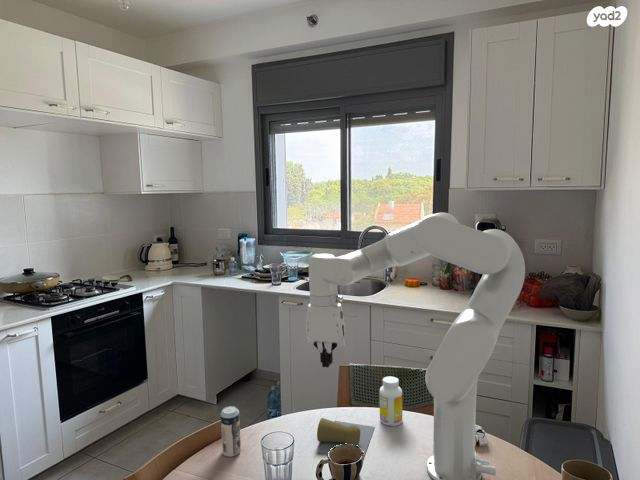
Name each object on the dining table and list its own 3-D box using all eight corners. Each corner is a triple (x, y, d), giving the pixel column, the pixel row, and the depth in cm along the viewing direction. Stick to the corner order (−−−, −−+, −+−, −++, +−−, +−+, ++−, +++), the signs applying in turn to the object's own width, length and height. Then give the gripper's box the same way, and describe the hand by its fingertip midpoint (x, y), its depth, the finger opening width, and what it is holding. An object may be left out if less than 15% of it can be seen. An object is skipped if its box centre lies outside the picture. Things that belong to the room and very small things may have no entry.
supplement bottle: (402, 416, 130) (402, 375, 128) (402, 428, 123) (401, 385, 122) (380, 414, 131) (380, 373, 130) (378, 425, 125) (378, 383, 123)
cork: (320, 444, 119) (359, 451, 115) (315, 438, 114) (355, 445, 110) (325, 421, 122) (363, 428, 118) (320, 414, 118) (359, 421, 114)
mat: (374, 427, 124) (374, 426, 124) (362, 461, 109) (362, 460, 109) (334, 421, 128) (334, 420, 127) (317, 453, 112) (317, 452, 112)
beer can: (239, 457, 111) (237, 413, 110) (221, 458, 111) (219, 415, 110) (242, 446, 116) (240, 404, 115) (224, 447, 116) (222, 405, 114)
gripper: (354, 297, 117) (356, 362, 119) (302, 295, 121) (305, 358, 123) (347, 304, 110) (350, 373, 111) (293, 302, 114) (296, 368, 116)
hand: (326, 365), depth 117 cm, fingers closed
